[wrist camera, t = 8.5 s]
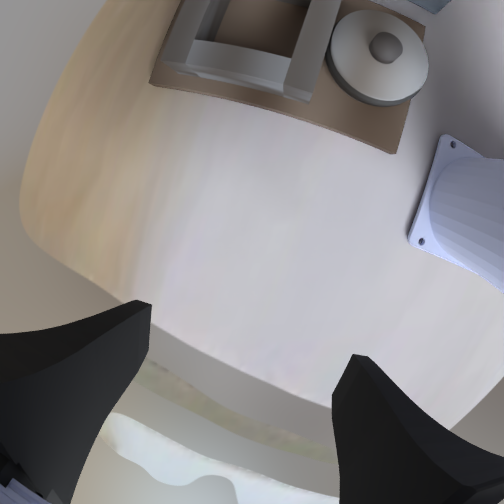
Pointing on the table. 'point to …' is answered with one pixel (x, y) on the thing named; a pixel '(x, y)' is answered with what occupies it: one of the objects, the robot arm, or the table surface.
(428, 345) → the table surface
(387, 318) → the table surface
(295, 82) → the board
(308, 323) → the table surface
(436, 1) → the tray
